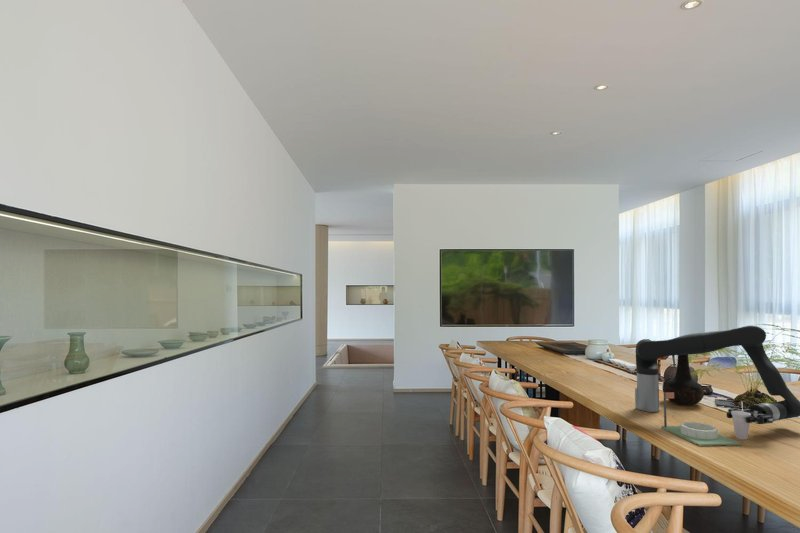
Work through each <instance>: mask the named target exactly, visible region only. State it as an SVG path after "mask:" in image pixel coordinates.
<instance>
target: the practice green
mask: <svg viewBox="0 0 800 533" xmlns="http://www.w3.org/2000/svg"><path fill="white" fill-rule="evenodd" d="M669 398H674V392H672V393H665V392H664V393H663V418H664V419H663V421H664V424H663V425H661V429H663V430H664V431H667V432H669V431H670V432H669V433H671V432H672V433H671V434H673V433H674V435H675V434H676V435H675V436H677V435H678V436H677V437H679V436H680V437H679V438H681V437H682V438H681V439H683V438H685V439H687V440H686V441H688V440H689V441H688V442H690V441H691V442H690V443H692V442H694V443H696V444H698V445H738V446H741V445H742V443H741V442H740V441H739V442H738V441H736V440H734V439H732V438H729V437H727V436H724V435H722V434H719V433H718V432H719V431H718V428H717V427H716V426H713V425H712V424H708V423H703V422H696V421H695V422H694V421H684V422H683V421H682V422H681V423H680V425H667V400H669ZM685 439H684V440H685ZM694 443H693V444H694ZM696 444H695V445H696ZM698 445H697V446H698Z"/></svg>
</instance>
